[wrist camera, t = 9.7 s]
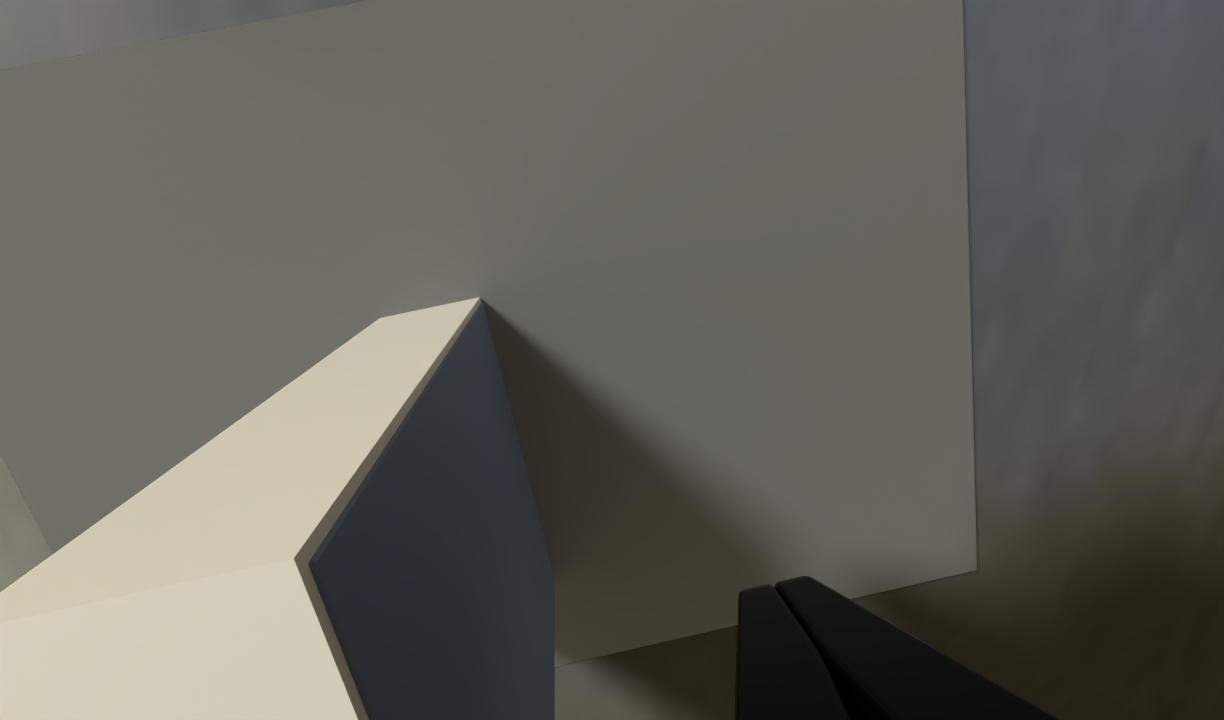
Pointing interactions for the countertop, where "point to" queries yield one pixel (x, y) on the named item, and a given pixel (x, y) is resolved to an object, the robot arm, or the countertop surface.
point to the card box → (313, 558)
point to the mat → (528, 271)
